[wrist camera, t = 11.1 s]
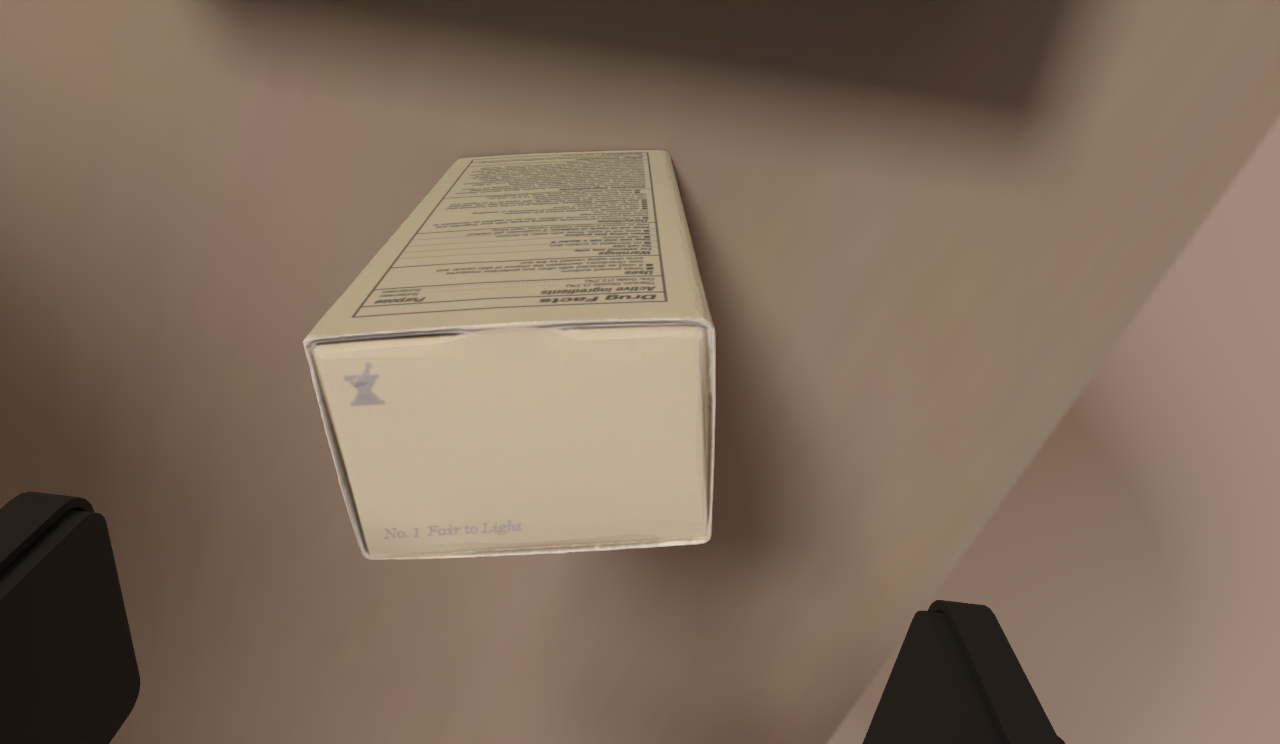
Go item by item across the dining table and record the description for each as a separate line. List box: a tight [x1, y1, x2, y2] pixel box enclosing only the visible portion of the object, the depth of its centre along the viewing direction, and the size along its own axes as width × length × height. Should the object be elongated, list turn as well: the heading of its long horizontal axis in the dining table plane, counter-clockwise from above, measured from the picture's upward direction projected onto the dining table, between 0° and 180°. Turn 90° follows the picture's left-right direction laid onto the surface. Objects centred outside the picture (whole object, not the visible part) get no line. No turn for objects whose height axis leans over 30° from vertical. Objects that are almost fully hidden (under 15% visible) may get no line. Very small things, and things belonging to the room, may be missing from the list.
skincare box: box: [303, 150, 716, 560], centre depth 18 cm, size 6×4×12 cm
